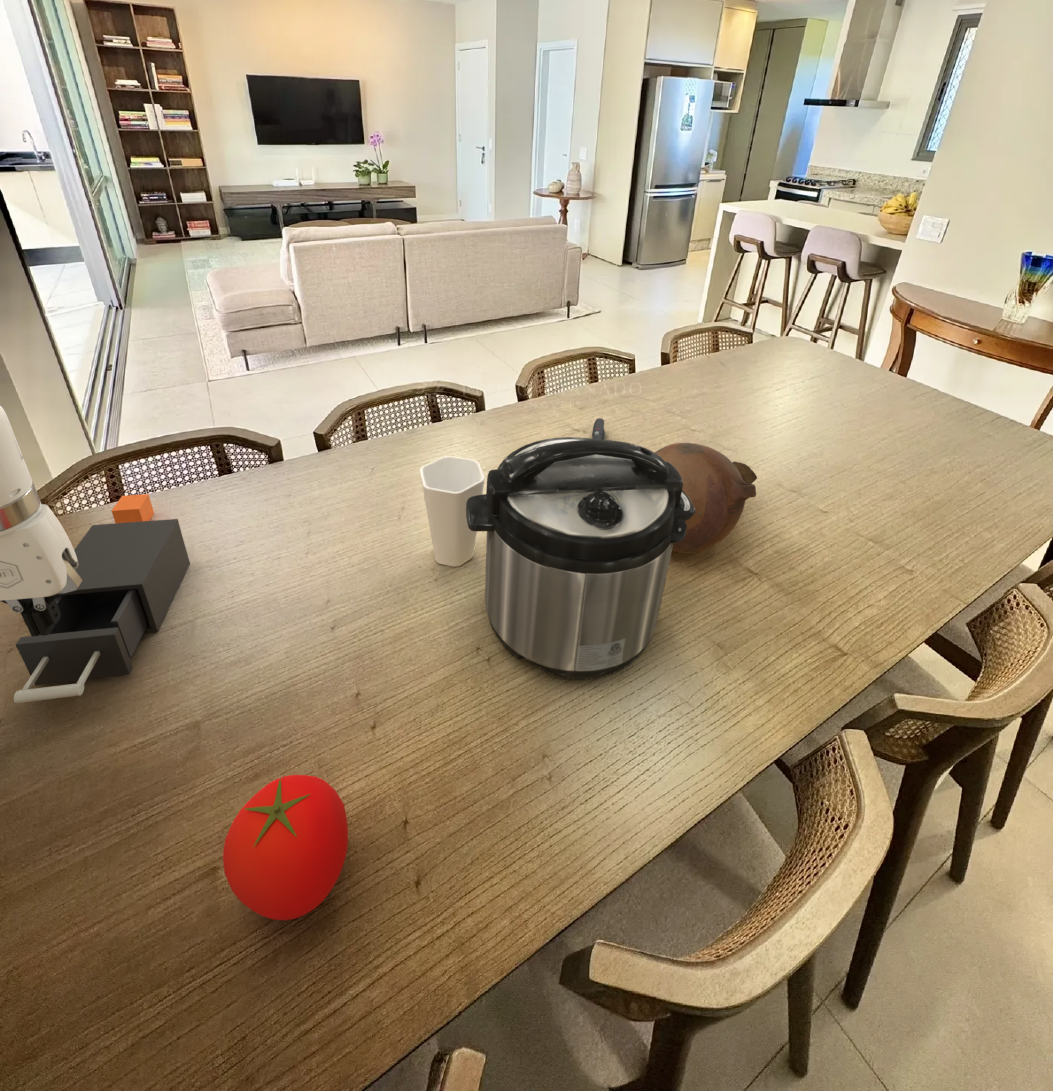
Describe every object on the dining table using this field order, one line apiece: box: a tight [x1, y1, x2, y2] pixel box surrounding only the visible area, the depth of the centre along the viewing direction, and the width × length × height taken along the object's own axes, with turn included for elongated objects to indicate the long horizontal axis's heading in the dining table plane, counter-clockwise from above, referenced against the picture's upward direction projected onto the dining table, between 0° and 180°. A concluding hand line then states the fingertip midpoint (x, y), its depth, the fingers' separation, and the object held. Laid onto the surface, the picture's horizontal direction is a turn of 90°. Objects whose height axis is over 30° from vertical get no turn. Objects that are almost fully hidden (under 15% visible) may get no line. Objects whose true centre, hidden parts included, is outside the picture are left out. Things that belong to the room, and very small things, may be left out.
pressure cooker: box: [466, 436, 695, 681], centre depth 87 cm, size 30×28×32 cm
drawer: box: [13, 589, 149, 704], centre depth 81 cm, size 20×11×8 cm, turn 10°
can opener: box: [591, 417, 606, 440], centre depth 138 cm, size 18×7×6 cm, turn 166°
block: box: [111, 493, 155, 524], centre depth 109 cm, size 4×4×4 cm
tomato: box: [222, 774, 349, 921], centre depth 58 cm, size 11×11×13 cm
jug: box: [653, 442, 758, 554], centre depth 111 cm, size 20×20×30 cm
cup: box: [419, 455, 486, 568], centre depth 102 cm, size 11×10×17 cm
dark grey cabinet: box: [58, 518, 191, 635], centre depth 91 cm, size 15×13×10 cm
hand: (46, 626), depth 73 cm, fingers closed
